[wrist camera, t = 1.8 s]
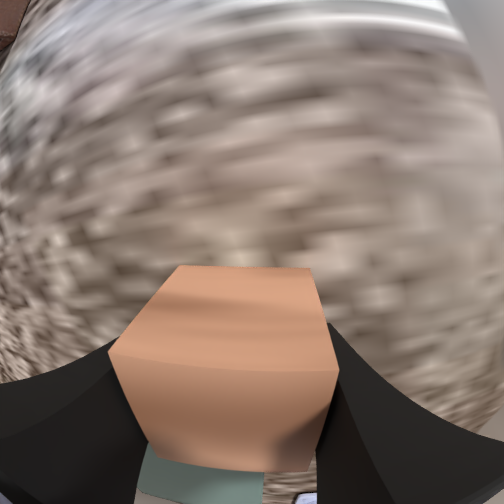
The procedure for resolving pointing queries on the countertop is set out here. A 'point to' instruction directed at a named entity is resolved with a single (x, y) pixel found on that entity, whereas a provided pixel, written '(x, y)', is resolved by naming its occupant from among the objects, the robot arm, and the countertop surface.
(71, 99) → the countertop surface
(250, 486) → the book
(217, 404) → the block
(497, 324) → the countertop surface
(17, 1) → the letter holder
